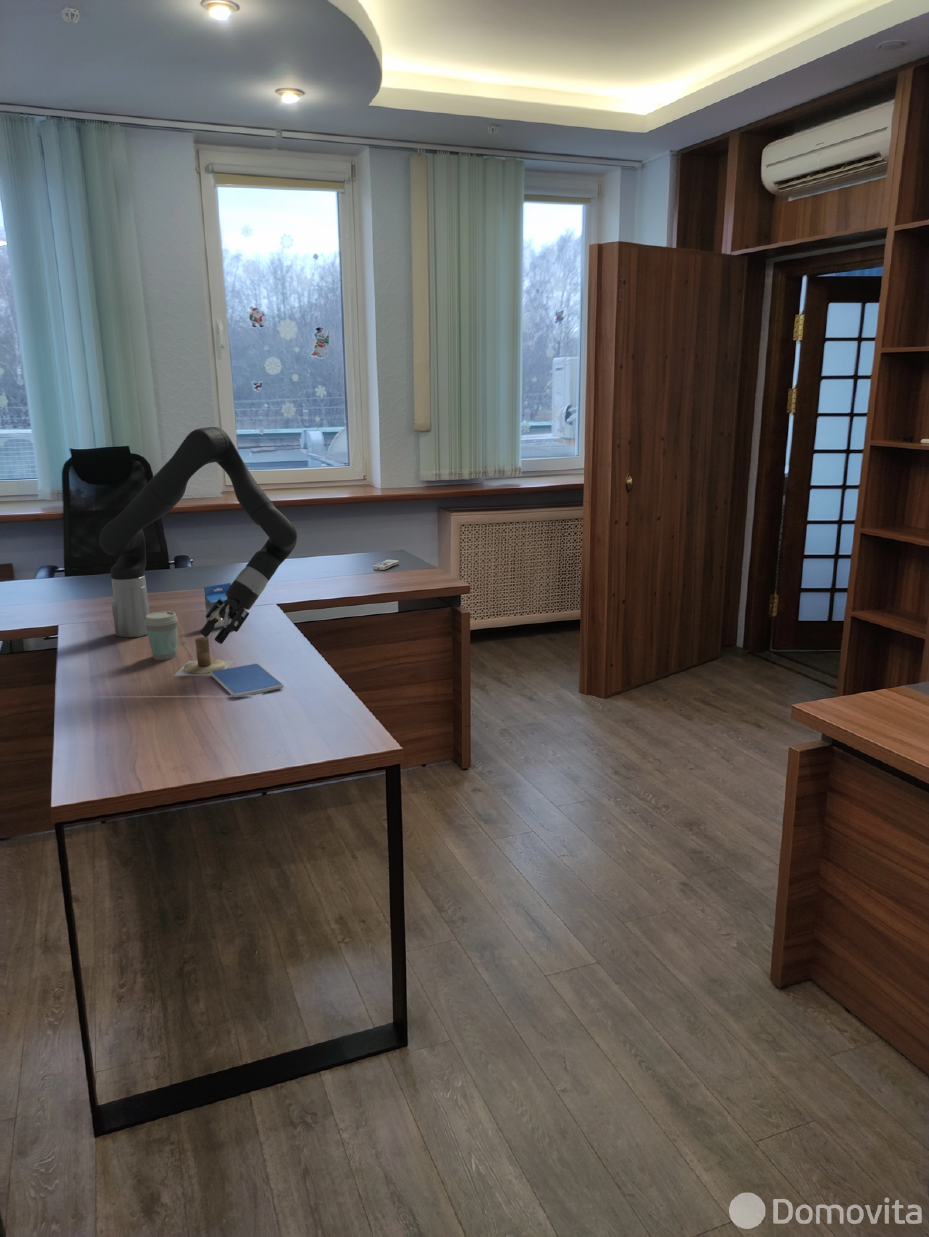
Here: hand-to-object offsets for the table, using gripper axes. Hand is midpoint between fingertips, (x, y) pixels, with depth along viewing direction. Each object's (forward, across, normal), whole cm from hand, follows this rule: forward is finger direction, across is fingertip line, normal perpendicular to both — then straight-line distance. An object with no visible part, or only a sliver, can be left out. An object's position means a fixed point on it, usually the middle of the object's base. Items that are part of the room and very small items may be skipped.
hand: (210, 638), depth 225 cm
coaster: (+7, 0, +4) cm, 8 cm away
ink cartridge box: (-9, -36, +20) cm, 42 cm away
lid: (+7, 0, +4) cm, 8 cm away
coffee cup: (+10, -17, +2) cm, 20 cm away
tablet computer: (+5, +17, +6) cm, 19 cm away
